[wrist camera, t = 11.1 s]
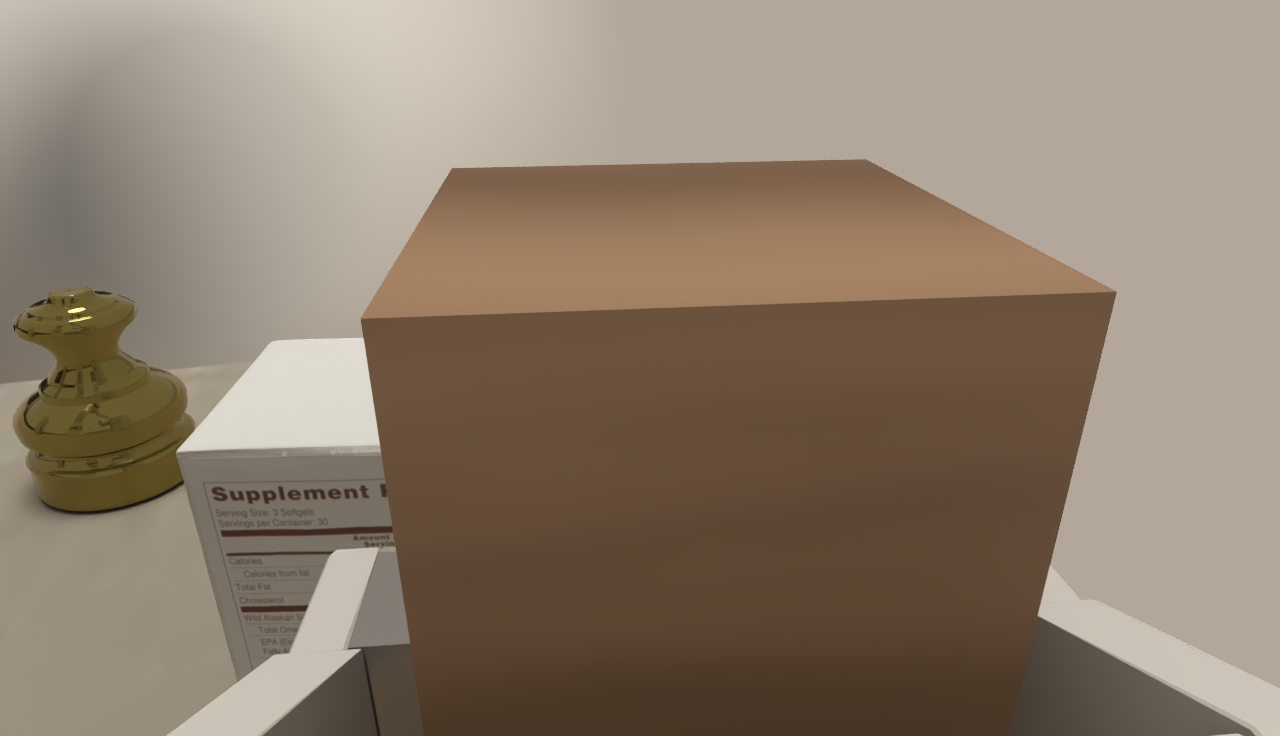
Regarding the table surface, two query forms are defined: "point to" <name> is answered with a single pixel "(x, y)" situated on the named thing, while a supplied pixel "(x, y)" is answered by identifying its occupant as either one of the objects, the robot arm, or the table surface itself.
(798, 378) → the walnut block
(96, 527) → the table surface
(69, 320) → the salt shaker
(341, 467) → the supplement box
